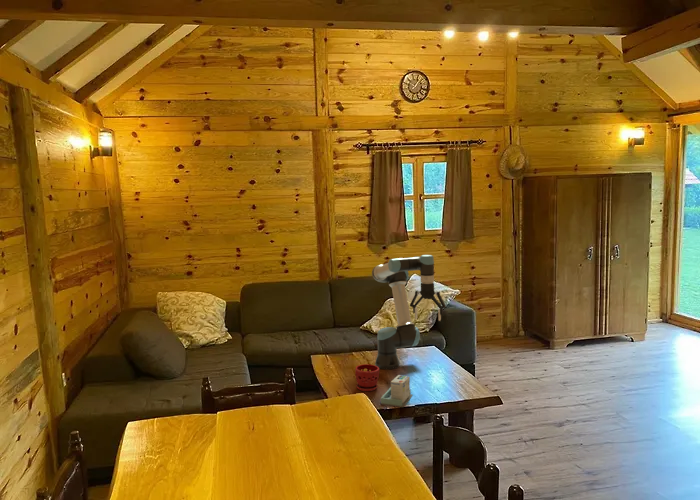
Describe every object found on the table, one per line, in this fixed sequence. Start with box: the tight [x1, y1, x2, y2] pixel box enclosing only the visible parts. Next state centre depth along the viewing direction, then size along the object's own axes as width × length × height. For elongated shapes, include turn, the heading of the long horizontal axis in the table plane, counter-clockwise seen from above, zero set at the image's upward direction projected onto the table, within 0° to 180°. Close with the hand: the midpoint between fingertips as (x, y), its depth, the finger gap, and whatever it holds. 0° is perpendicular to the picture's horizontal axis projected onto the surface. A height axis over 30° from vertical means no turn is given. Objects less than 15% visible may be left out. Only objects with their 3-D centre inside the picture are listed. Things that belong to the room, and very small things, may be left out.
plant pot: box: [354, 363, 380, 392], centre depth 282 cm, size 13×13×12 cm
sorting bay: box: [380, 386, 413, 408], centre depth 266 cm, size 12×16×3 cm
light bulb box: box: [390, 374, 411, 403], centre depth 265 cm, size 11×7×11 cm, turn 153°
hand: (427, 319), depth 292 cm, fingers open, 13 cm apart
